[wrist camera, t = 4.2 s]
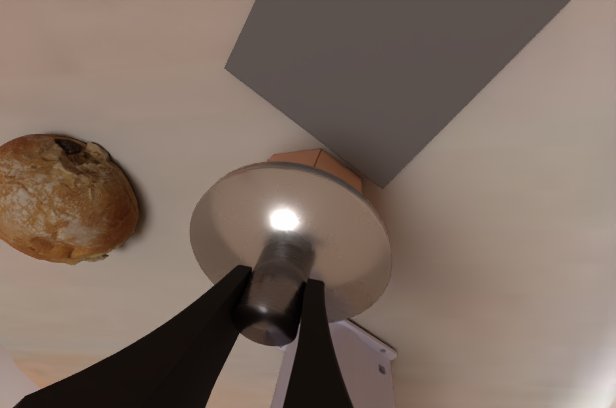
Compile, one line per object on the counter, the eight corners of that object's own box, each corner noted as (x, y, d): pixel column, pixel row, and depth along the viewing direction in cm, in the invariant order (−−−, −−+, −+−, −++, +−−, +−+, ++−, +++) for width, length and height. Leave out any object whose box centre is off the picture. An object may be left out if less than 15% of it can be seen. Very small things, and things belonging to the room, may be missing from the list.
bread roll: (174, 167, 24) (107, 158, 16) (138, 270, 25) (57, 311, 17) (70, 126, 24) (-48, 98, 16) (36, 232, 25) (-92, 254, 17)
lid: (437, 252, 11) (466, 343, 8) (309, 331, 16) (294, 408, 13) (257, 111, 10) (199, 156, 6) (172, 248, 14) (115, 314, 11)
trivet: (565, -2, 12) (574, -4, 12) (382, 185, 18) (382, 188, 17) (361, -213, 11) (361, -228, 10) (228, 67, 16) (224, 68, 16)
